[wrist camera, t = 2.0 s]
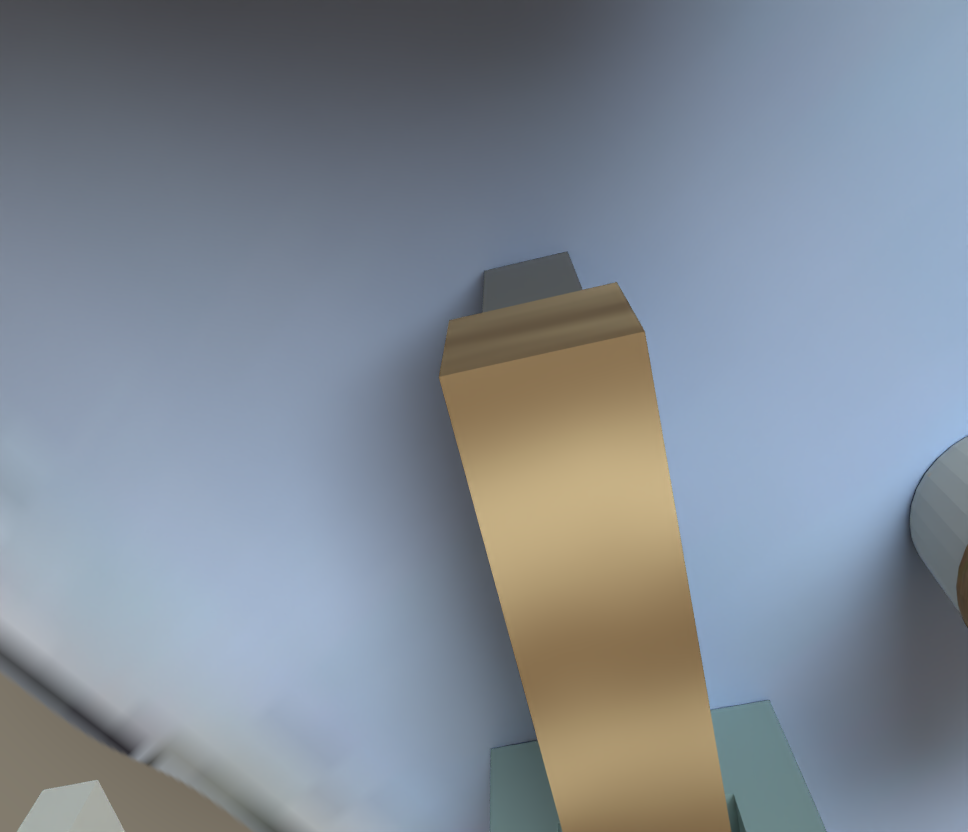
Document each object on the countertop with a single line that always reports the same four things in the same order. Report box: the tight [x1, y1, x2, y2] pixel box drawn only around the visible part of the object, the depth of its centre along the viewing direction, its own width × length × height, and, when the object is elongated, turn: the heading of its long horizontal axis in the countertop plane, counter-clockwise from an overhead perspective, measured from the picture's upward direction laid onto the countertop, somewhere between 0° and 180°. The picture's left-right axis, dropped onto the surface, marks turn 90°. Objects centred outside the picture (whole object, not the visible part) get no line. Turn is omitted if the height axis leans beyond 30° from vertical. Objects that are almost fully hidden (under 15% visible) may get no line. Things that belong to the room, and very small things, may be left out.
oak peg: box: [439, 282, 731, 832], centre depth 21 cm, size 14×4×4 cm, turn 13°
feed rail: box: [482, 252, 582, 313], centre depth 25 cm, size 15×2×4 cm, turn 13°
